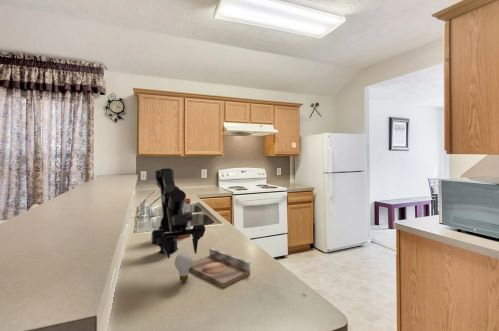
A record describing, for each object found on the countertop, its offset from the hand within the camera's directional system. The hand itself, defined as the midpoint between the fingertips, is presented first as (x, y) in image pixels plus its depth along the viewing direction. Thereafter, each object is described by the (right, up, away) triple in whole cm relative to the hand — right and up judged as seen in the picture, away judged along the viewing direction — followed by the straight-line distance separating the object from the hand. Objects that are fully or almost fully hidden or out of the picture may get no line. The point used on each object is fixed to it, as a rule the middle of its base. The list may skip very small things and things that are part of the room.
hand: (182, 255), depth 89 cm
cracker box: (-16, -8, +49) cm, 52 cm away
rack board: (+11, -8, +7) cm, 16 cm away
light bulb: (+1, -9, -1) cm, 9 cm away
